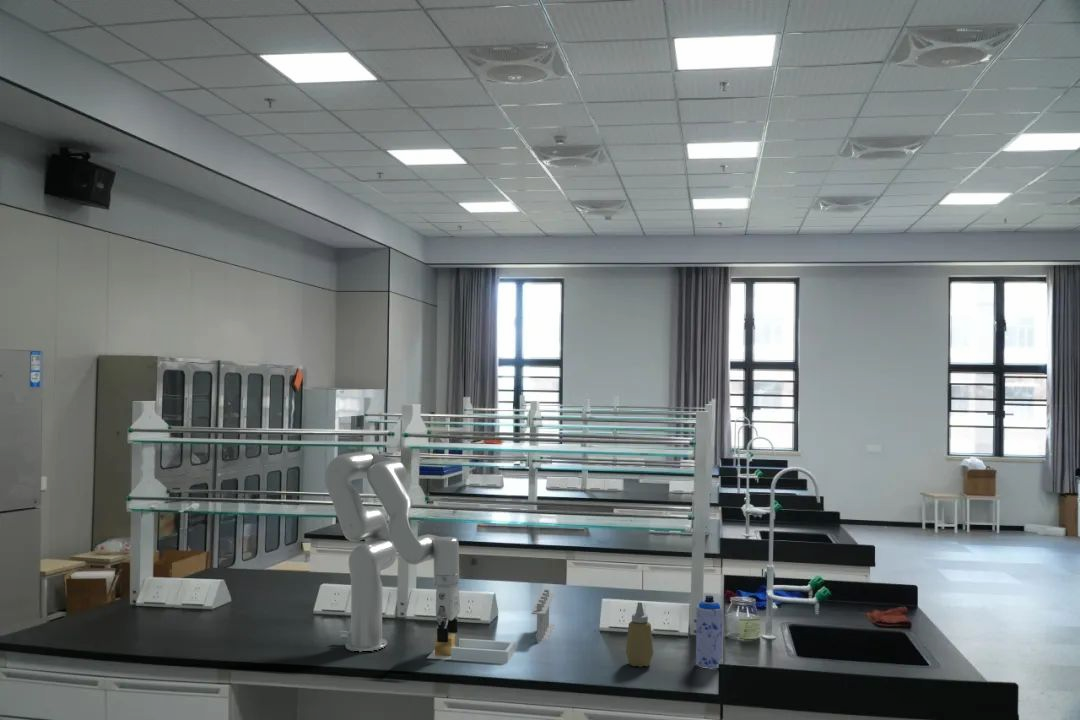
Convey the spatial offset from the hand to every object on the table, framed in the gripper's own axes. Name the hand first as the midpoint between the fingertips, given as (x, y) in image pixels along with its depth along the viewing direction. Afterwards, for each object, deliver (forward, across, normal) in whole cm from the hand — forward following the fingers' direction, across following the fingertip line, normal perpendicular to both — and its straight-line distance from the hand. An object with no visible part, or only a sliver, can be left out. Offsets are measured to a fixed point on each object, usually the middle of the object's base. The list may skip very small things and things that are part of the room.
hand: (447, 637), depth 261 cm
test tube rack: (+7, +27, -24) cm, 37 cm away
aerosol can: (+9, +10, -76) cm, 77 cm away
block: (+5, 0, +1) cm, 5 cm away
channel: (+6, 0, -7) cm, 10 cm away
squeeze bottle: (+8, +6, -56) cm, 57 cm away
